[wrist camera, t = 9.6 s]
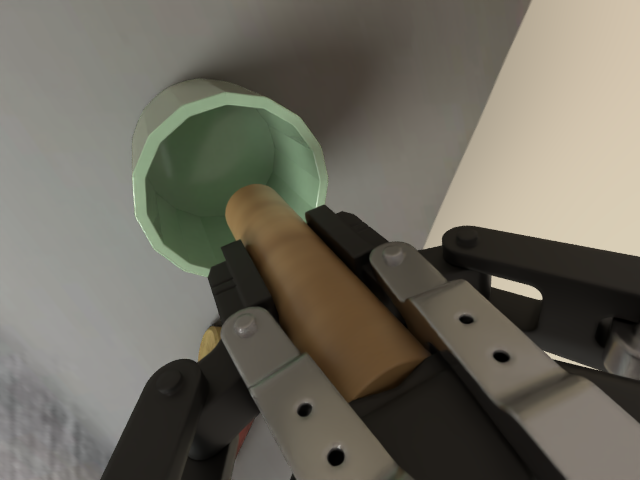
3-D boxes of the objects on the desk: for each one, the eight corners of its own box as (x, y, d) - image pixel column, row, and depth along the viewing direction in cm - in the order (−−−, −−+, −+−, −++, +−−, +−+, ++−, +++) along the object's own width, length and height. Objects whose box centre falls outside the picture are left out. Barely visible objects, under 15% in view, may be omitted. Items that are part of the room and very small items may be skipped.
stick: (236, 246, 16) (350, 472, 8) (216, 196, 15) (327, 404, 6) (288, 225, 17) (448, 411, 8) (273, 174, 15) (445, 337, 7)
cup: (172, 239, 25) (186, 306, 19) (101, 105, 20) (87, 134, 14) (292, 191, 27) (341, 237, 21) (254, 60, 22) (304, 67, 16)
